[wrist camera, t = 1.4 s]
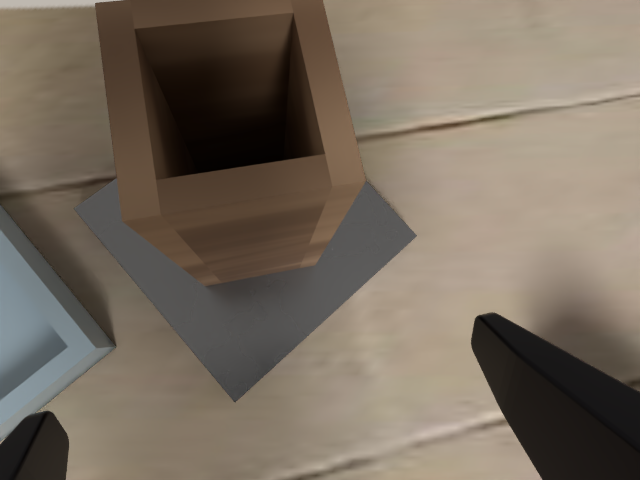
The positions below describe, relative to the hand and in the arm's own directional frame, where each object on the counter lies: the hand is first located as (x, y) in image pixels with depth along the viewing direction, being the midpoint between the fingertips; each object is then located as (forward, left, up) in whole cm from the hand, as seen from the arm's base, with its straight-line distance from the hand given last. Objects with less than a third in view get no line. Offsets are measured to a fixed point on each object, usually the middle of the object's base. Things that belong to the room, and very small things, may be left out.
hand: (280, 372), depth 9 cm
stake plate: (+3, +6, -13) cm, 14 cm away
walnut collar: (+3, +6, -12) cm, 13 cm away
